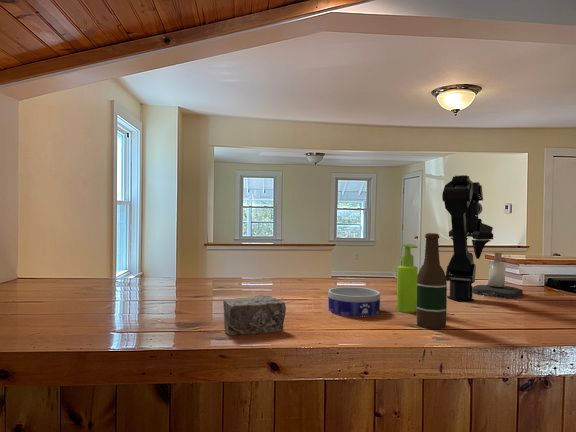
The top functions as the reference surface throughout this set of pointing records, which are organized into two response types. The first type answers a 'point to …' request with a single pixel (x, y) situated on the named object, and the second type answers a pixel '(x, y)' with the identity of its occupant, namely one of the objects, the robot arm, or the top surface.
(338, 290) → the dog bowl
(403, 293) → the soap dispenser
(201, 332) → the top surface
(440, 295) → the beer bottle
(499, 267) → the bottle
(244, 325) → the stone block
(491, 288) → the media streaming box
